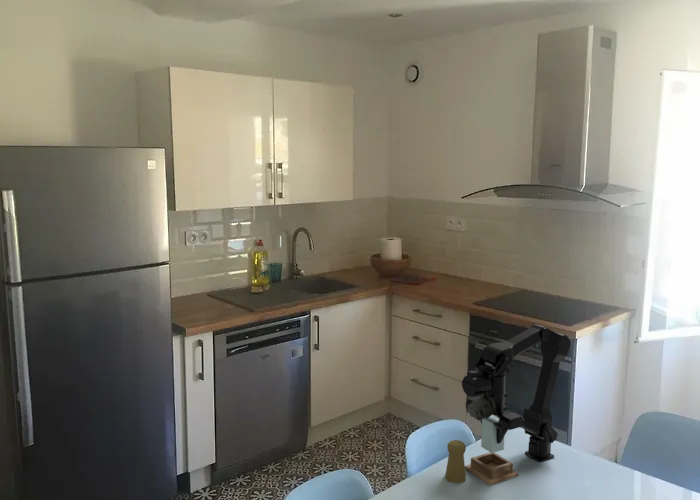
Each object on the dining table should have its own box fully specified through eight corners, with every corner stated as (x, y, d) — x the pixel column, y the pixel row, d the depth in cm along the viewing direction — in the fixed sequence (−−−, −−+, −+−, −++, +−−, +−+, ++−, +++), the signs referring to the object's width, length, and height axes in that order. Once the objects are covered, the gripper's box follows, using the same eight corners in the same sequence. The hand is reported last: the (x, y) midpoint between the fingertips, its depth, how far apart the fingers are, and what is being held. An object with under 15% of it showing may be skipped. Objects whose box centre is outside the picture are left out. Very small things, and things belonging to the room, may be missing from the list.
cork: (465, 484, 173) (467, 447, 171) (444, 482, 174) (445, 445, 173) (466, 474, 179) (467, 438, 177) (445, 471, 180) (446, 436, 179)
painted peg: (492, 443, 182) (493, 414, 181) (503, 449, 178) (504, 420, 177) (481, 446, 180) (482, 417, 179) (491, 453, 176) (493, 423, 175)
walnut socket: (492, 460, 187) (492, 449, 187) (518, 475, 178) (519, 464, 177) (464, 468, 182) (465, 457, 181) (490, 485, 173) (490, 473, 172)
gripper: (452, 384, 181) (451, 433, 183) (496, 405, 165) (494, 459, 167) (480, 377, 186) (479, 426, 188) (526, 397, 170) (523, 450, 172)
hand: (492, 439), depth 179 cm, fingers closed on painted peg, 5 cm apart
